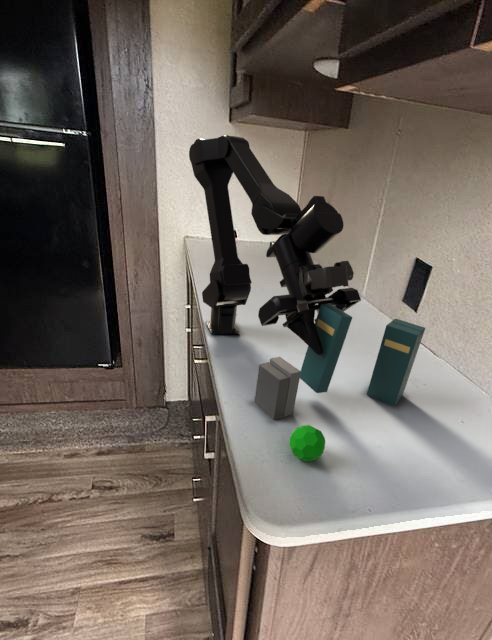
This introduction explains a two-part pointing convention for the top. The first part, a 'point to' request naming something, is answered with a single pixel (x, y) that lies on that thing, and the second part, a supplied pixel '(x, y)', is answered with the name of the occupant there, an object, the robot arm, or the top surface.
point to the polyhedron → (307, 443)
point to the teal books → (395, 360)
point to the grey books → (277, 387)
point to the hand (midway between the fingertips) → (328, 352)
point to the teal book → (325, 347)
